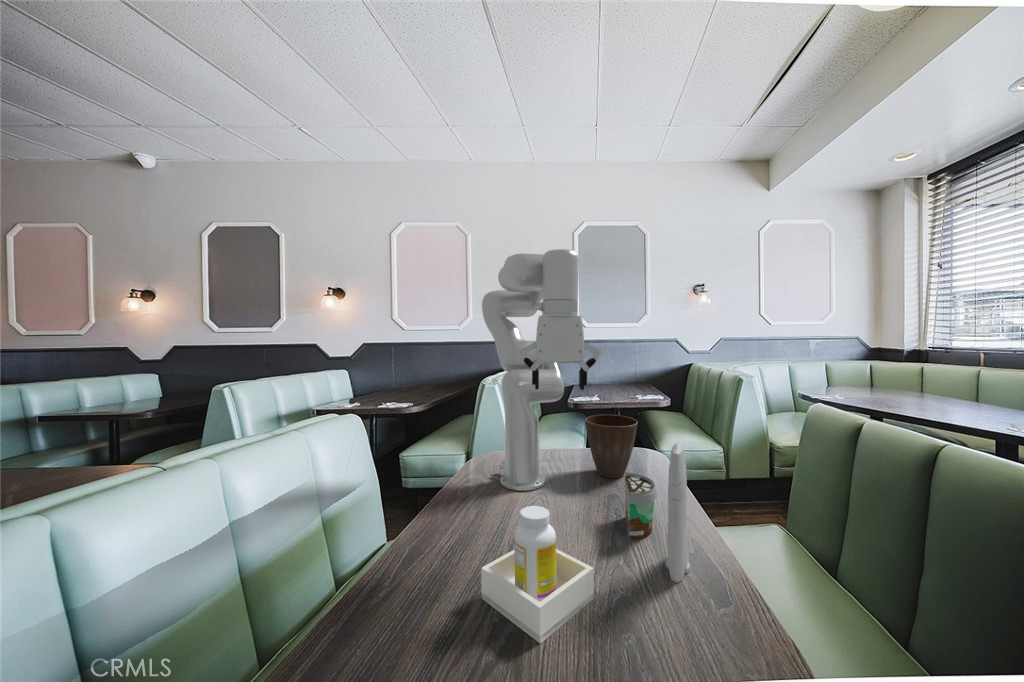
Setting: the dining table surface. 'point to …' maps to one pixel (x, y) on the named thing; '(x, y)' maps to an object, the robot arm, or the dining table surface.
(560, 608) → the box
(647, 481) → the food container
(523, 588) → the supplement bottle
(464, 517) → the dining table surface
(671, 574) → the tall pale column
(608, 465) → the plant pot
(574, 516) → the dining table surface
